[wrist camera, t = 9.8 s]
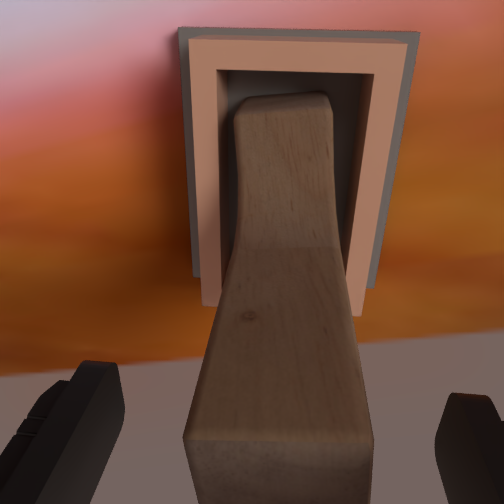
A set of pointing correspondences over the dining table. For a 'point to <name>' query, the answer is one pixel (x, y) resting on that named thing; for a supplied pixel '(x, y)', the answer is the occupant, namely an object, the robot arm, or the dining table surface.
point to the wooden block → (282, 328)
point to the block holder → (344, 131)
